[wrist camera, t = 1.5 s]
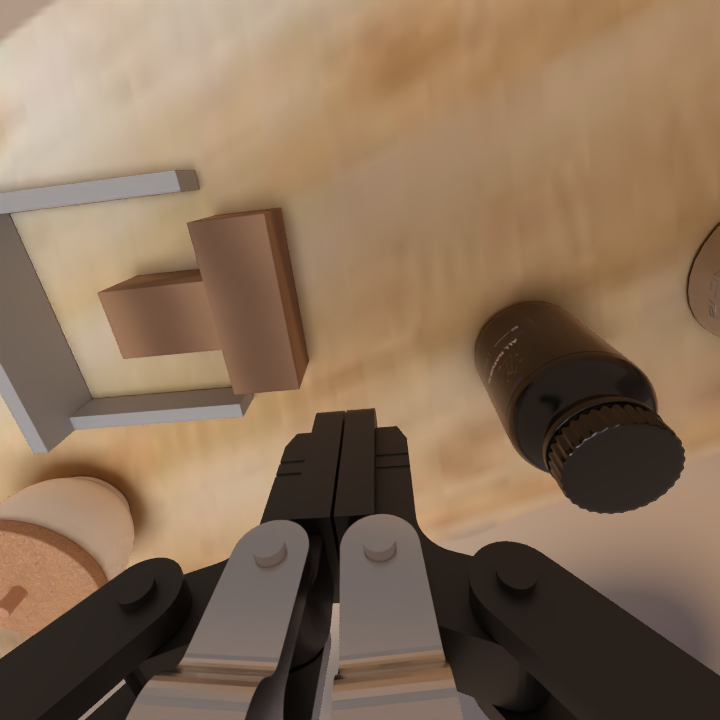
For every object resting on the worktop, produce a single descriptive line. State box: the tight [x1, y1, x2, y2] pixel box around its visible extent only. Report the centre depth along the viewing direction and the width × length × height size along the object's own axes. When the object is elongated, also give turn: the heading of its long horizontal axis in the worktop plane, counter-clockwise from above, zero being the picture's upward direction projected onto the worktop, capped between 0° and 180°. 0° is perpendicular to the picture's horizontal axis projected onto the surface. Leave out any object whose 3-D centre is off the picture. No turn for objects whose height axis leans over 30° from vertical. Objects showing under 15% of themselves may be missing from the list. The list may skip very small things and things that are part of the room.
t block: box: [98, 208, 309, 395], centre depth 24 cm, size 10×10×4 cm
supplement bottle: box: [475, 302, 685, 514], centre depth 21 cm, size 7×7×12 cm
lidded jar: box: [0, 476, 134, 635], centre depth 30 cm, size 11×11×9 cm
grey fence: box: [0, 170, 253, 454], centre depth 24 cm, size 13×15×5 cm
